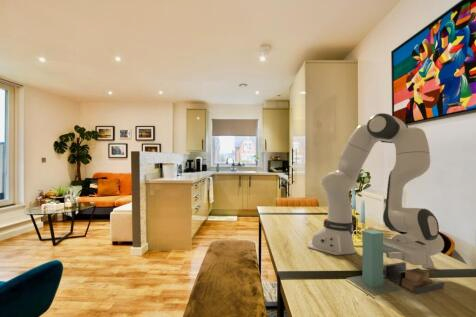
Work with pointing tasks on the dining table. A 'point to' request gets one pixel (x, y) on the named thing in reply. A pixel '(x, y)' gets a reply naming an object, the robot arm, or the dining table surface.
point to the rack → (398, 272)
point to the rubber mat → (373, 290)
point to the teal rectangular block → (373, 258)
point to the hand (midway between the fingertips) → (376, 250)
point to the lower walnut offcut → (411, 284)
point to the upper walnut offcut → (417, 275)
